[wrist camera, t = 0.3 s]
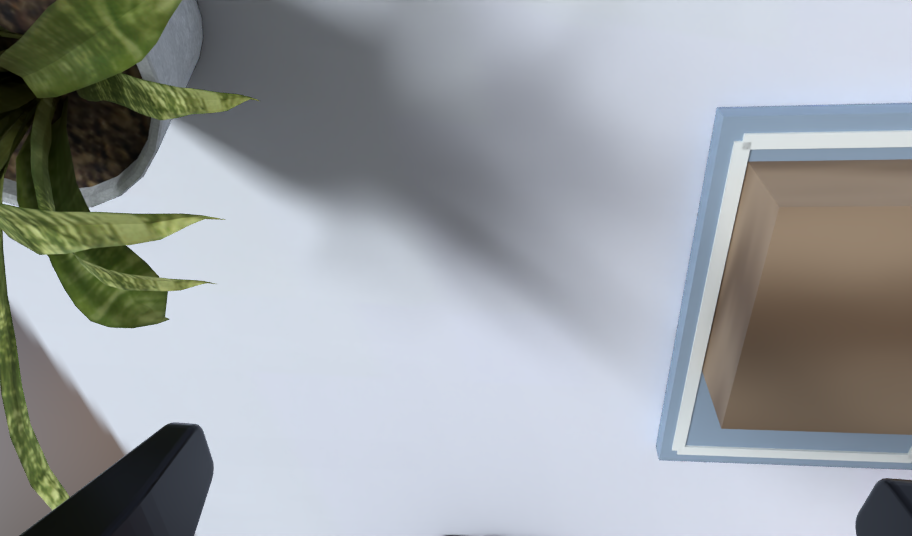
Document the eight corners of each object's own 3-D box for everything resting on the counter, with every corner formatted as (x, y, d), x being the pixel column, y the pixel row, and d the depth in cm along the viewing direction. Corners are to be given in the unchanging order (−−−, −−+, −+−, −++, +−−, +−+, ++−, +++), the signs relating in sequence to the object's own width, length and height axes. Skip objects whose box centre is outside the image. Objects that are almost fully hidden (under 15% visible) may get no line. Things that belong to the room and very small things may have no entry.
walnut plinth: (946, 375, 24) (995, 437, 21) (701, 370, 25) (721, 428, 22) (1060, 157, 19) (1141, 204, 16) (748, 161, 20) (779, 207, 17)
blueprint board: (913, 455, 27) (924, 472, 27) (656, 445, 29) (659, 462, 28) (1103, 98, 18) (1127, 109, 18) (717, 107, 20) (724, 117, 19)
